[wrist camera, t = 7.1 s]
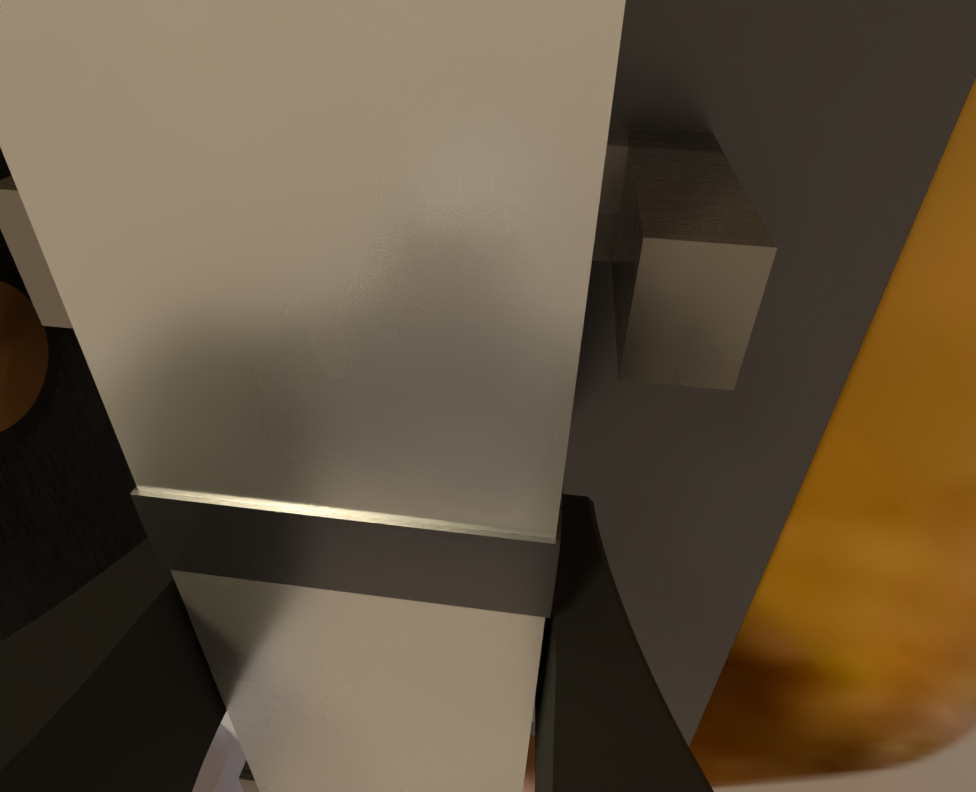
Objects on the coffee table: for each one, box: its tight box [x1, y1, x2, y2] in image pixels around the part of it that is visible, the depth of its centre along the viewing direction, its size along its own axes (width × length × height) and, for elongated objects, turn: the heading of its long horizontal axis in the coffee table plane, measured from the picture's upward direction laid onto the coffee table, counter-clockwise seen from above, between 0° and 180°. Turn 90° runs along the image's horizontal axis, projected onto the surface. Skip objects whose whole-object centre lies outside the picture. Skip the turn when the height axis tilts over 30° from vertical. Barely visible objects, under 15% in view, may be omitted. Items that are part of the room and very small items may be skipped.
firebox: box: [0, 0, 976, 792], centre depth 12 cm, size 20×15×6 cm
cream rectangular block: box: [0, 0, 626, 792], centre depth 10 cm, size 20×4×4 cm, turn 178°
